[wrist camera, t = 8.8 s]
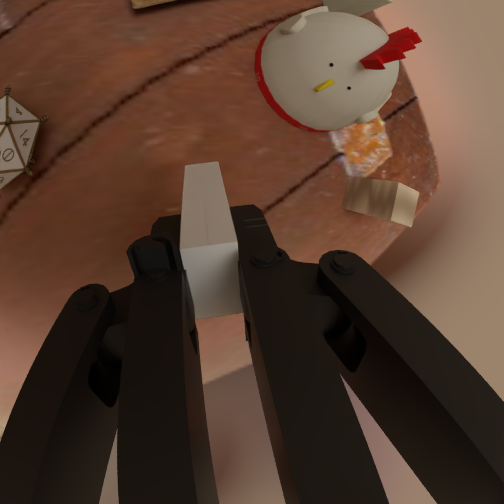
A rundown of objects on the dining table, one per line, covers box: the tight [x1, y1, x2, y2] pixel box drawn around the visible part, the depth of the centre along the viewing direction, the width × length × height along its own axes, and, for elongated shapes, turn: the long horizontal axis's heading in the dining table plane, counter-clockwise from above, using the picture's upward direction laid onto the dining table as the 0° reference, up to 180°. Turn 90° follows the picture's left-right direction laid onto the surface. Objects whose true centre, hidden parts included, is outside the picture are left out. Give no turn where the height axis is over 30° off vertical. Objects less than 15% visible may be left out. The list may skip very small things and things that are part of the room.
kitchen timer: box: [255, 6, 422, 132], centre depth 21 cm, size 14×14×15 cm
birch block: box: [342, 176, 419, 227], centre depth 31 cm, size 4×4×8 cm
